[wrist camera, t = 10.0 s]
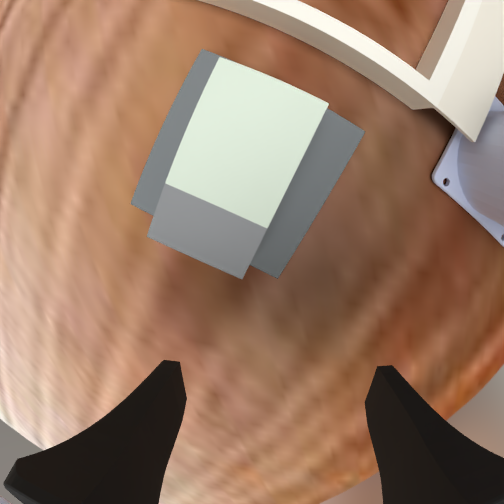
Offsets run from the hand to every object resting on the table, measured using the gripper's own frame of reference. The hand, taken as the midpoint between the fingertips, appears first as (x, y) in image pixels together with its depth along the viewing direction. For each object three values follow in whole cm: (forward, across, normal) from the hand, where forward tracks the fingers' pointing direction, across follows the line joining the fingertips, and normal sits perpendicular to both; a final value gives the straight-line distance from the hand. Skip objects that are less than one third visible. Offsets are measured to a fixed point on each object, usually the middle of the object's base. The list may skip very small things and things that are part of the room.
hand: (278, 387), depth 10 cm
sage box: (+9, +2, -7) cm, 12 cm away
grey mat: (+9, +2, -7) cm, 12 cm away
